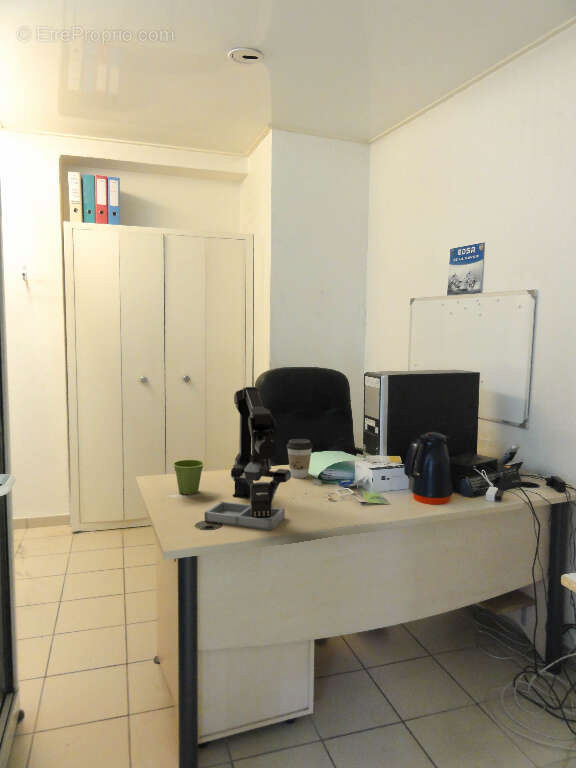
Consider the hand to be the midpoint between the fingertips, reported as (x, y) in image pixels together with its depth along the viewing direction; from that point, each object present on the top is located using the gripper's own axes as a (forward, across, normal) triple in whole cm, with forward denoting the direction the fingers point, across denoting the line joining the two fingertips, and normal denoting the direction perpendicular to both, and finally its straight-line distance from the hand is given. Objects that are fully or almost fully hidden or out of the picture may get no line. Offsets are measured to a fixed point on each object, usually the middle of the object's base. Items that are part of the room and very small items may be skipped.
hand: (260, 499), depth 173 cm
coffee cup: (+8, -6, +57) cm, 58 cm away
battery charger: (+6, 0, 0) cm, 6 cm away
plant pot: (+8, -38, +20) cm, 43 cm away
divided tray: (+7, -5, 0) cm, 9 cm away
